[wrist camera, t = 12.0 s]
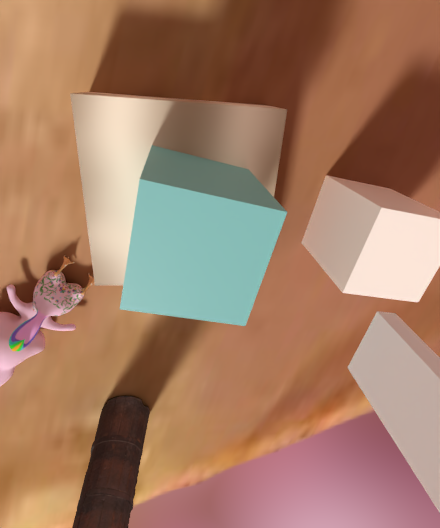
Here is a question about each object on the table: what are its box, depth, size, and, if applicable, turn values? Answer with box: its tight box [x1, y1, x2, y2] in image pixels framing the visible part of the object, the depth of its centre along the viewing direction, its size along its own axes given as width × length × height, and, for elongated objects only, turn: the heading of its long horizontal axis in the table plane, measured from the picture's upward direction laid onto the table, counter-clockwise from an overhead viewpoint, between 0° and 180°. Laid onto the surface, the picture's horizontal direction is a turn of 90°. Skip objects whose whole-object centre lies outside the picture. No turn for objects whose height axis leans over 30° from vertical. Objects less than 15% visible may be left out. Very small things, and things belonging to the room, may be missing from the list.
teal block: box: [120, 145, 287, 326], centre depth 18 cm, size 6×6×8 cm
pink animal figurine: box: [0, 254, 94, 386], centre depth 26 cm, size 6×6×15 cm
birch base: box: [70, 92, 287, 285], centre depth 23 cm, size 12×12×5 cm
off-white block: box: [302, 175, 440, 302], centre depth 25 cm, size 6×6×8 cm
